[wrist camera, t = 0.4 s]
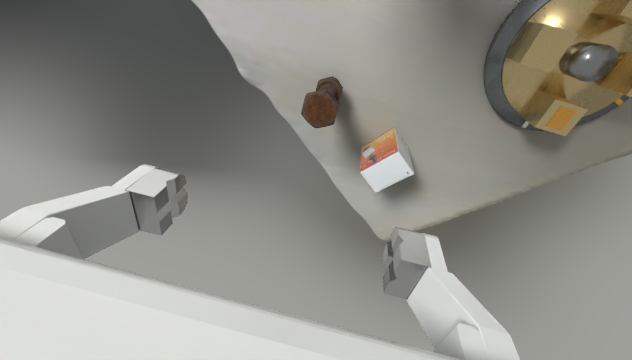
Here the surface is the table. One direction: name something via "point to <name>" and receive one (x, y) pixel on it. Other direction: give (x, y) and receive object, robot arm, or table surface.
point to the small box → (385, 161)
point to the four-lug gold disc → (569, 62)
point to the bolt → (322, 103)
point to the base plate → (495, 61)
